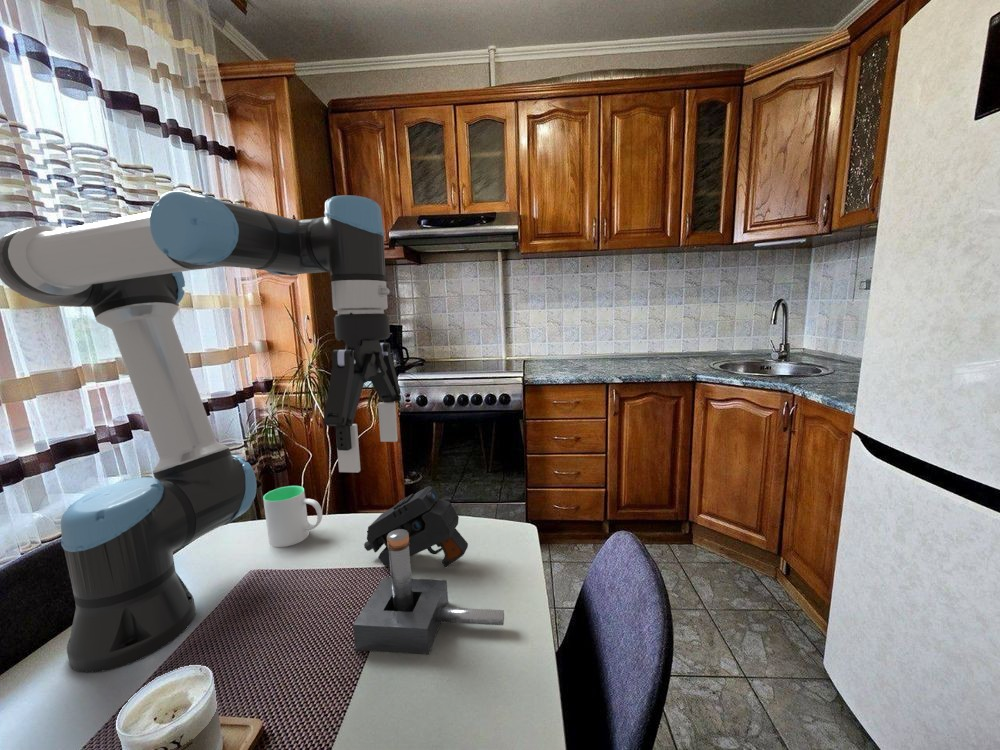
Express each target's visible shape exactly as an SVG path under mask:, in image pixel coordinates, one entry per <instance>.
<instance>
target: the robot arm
mask: <svg viewBox="0 0 1000 750" xmlns="http://www.w3.org/2000/svg"><path fill="white" fill-rule="evenodd" d="M323 214H324V216H321V217H318V218H317V217H316V218H307V219H305V218H304V219H294V218H289V217H285V216H281V215H277V214H275V213H274V214H273V213H270V212H266V211H263V210H258V209H254V208H251V207H247V206H244V205H238V204H237V203H233V202H228V201H226V200H221V199H218V198H215V197H213V196H209V195H207V194H203V193H192V192H185V191H181V190H171V191H168V192H165V193H163V194H161V195H160V197H159V200H157V201H156V202H154V203H153V205H152V207H151V210H150V211H146V212H141V213H136V214H132V215H131V214H130V215H125V216H122V217H117V218H112V219H111V218H110V219H106V220H102V221H98V222H97V221H96V222H93V223H92V222H91V223H87V224H82V225H76V226H71V227H68V228H59V227H56V226H48V225H36V226H35V225H34V226H30V227H25V228H20V229H17V230H13V231H11V232H9V233H6V234H5V235H4V236H2V237H1V238H0V281H2V282H3V284H5V286H6V287H8V288H9V289H11V290H12V291H14V292H16V293H17V294H19V295H21V296H23V297H25V298H27V299H28V300H29V299H30V300H32V301H34V302H37V303H42V304H46V305H50V306H60V307H74V308H77V307H84V308H91V310H92V312H93V315H94V318H95V320H96V322H97V323H98V324H100V325H102V326H104V327H107V328H109V329H110V330H112V334H113V336H114V339H115V341H116V344H117V347H118V350H119V352H120V355H121V358H122V360H123V363H124V366H125V369H126V371H127V374H128V377H129V380H130V382H131V385H132V387H133V390H134V393H135V395H136V399H137V402H138V403H139V406H140V409H141V411H142V414H143V417H144V420H145V423H146V426H147V428H148V430H149V433H150V437H151V438H152V441H153V442H152V443H153V444H154V447H155V450H156V453H157V455H158V457H159V459H158V462H157V464H156V465H155V467H154V468H153V470H152V474H153V476H154V477H153V476H152V477H150V476H149V477H148V476H143V477H135V478H130V479H127V480H125V481H122V482H119V481H118V482H115V483H113V484H108V485H107V486H103V487H101V488H99V489H96V490H94V491H92V492H90V493H88V494H86V495H83V496H82V497H80V498H79V499H77V500H75V501H74V502H73V503H72V504H70V505H69V506H68V507H67V509H66V510H65V511H64V512H63V514H62V515H61V519H60V529H61V530H60V533H61V540H60V545H61V547H62V548H63V551H64V555H65V560H66V565H67V570H68V574H69V578H70V584H71V588H72V593H73V597H74V602H75V611H74V616H73V621H72V625H71V631H70V637H69V639H68V642H67V645H66V653H67V660H68V664H69V666H70V668H71V669H72V670H74V671H76V672H79V673H86V674H89V673H101V672H106V671H111V670H115V669H118V668H122V667H123V666H124V667H125V666H127V665H130V664H133V663H134V662H137V661H140V660H142V659H144V658H146V657H148V656H149V655H152V654H154V653H156V652H157V651H159V650H161V649H162V648H164V647H166V646H167V645H169V644H170V643H172V642H173V641H174V640H175V639H177V638H178V637H179V636H180V635H182V634H183V633H184V632H185V631H186V630H187V629H188V628H189V626H190V625H191V624H192V623H193V621H194V619H195V616H196V614H197V611H196V603H195V598H194V595H192V593H191V592H190V591H189V588H188V587H187V585H186V583H185V582H184V581H183V580H182V578H181V577H180V576H179V574H178V573H177V571H176V566H175V560H174V551H176V550H178V549H179V548H181V547H182V548H183V546H186V545H188V544H189V543H191V542H193V541H195V540H197V539H199V538H201V537H203V536H204V535H206V534H208V533H210V532H212V531H214V530H215V529H218V528H220V527H223V526H226V525H228V524H230V523H231V522H233V521H234V520H236V519H237V518H238V517H240V516H242V515H243V514H244V513H246V512H247V511H248V510H249V509H250V508H251V506H252V505H253V502H254V500H255V498H256V494H257V487H258V486H257V478H256V474H255V470H254V469H253V466H252V465H251V464H250V463H249V462H248V461H246V458H244V457H243V456H239V455H238V454H237V455H235V454H232V452H231V450H230V447H229V445H225V444H223V443H221V442H218V441H217V439H216V437H215V434H214V431H213V428H212V426H211V423H210V421H209V418H208V415H207V411H206V409H205V407H204V404H203V401H202V398H201V395H200V393H199V390H198V388H197V384H196V382H195V379H194V376H193V374H192V370H191V367H190V365H189V363H188V359H187V356H186V354H185V352H184V349H183V345H182V343H181V340H180V337H179V335H178V332H177V329H176V326H175V323H174V321H173V319H174V317H175V316H176V315H177V313H178V312H179V310H180V309H179V306H178V304H179V303H180V302H181V301H182V300H183V298H184V296H185V292H186V291H185V290H184V289H183V288H185V287H186V284H185V283H186V282H185V278H184V277H185V276H184V273H183V272H189V271H197V270H206V269H214V268H224V267H225V268H226V267H228V268H229V267H230V268H242V269H251V270H259V271H265V272H267V273H268V274H271V275H279V276H290V277H293V276H298V275H304V274H315V273H316V274H317V273H318V274H319V273H329V275H330V282H331V283H330V284H331V298H332V299H331V301H332V309H333V310H334V311H337V314H335V316H334V317H333V323H334V335H335V339H336V340H337V341H339V342H344V343H345V346H344V347H345V349H333V351H332V353H331V360H332V361H331V362H332V364H331V365H332V366H331V373H330V380H329V384H328V391H327V397H326V403H325V409H324V414H323V424H324V425H326V426H327V427H334V429H335V437H336V438H335V439H336V451H337V462H338V472H339V473H360V472H361V461H360V460H361V458H360V447H359V445H360V444H359V443H360V442H359V434H358V433H359V432H358V423H354V421H355V417H356V414H357V410H358V406H359V403H360V399H361V396H362V391H363V388H364V384H365V383H367V382H368V381H370V382H371V385H372V386H373V388H374V391H375V392H376V393H377V396H378V398H379V400H380V401H381V402H378V403H377V408H378V409H377V412H378V422H379V423H378V425H379V438H380V442H386V443H387V442H389V443H397V442H398V439H399V438H398V437H399V436H398V424H397V422H398V421H397V407H396V406H397V405H396V402H401V401H402V395H401V388H400V384H399V383H400V382H399V380H398V377H397V372H396V368H395V365H394V361H393V358H392V351H391V343H390V342H381V341H382V340H383V341H384V340H388V339H389V338H390V336H391V332H390V331H391V330H390V316H389V315H388V314H387V313H385V311H384V310H387V309H388V307H389V306H388V295H390V293H391V291H390V289H389V288H388V287H387V275H386V261H385V259H386V257H385V231H384V225H383V217H382V209H381V207H380V204H378V202H377V201H375V200H374V199H370V198H368V197H365V196H360V195H350V194H349V195H347V194H346V195H345V194H344V195H341V194H340V195H335V196H332V197H329V198H327V200H325V202H324V211H323Z"/></svg>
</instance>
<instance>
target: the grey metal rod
mask: <svg viewBox="0 0 1000 750" xmlns="http://www.w3.org/2000/svg"><path fill="white" fill-rule="evenodd" d="M387 545H388V549H389V560H390V567H389V568H390V569H389V571H390V578H391V582H392V594H393V605H394V611H403V612H413V610H414V603H413V590H412V579H413V577H412V567H411V566H412V565H411V557H410V553H409V533H408V532H407V531H406V530H404V529H397V530H394V531H391V532H390V533H389V534H388V535H387Z"/></svg>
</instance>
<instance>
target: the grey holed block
mask: <svg viewBox="0 0 1000 750" xmlns="http://www.w3.org/2000/svg"><path fill="white" fill-rule="evenodd" d="M412 590H413V603H414V610H413V612H403V611H394V605H393V594H392V582H391V577H383V578H382V579H381V580H380V582H379V584H378V585H377V587H376V588H375V589H374V591H373V592H372V595H371V596H370V597H369V599H368V601H367V602H366V604H365V605H364V606H363V608H362V610H361V612H360V613H359V615H358V616H357V618H356V619H355V621H354V623H352V630H353V631H352V632H353V639H354V640H353V641H354V649H355V651H368V652H382V653H395V654H396V653H398V654H411V655H426V656H427V655H429V656H430V653H431V651H432V647H433V645H434V642H435V640H436V637H437V634H438V631H439V629H440V626H441V624H442V623H446V624H447V623H451V624H469V625H470V624H471V625H485V626H486V625H490V626H504V623H505V610H504V609H490V608H489V609H486V608H485V609H484V608H467V607H466V608H465V607H448V605H449V594H448V593H449V592H448V580H447V579H424V578H423V579H422V578H412Z"/></svg>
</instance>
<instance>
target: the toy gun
mask: <svg viewBox="0 0 1000 750" xmlns="http://www.w3.org/2000/svg"><path fill="white" fill-rule="evenodd" d="M459 519H460V516H459V514H458V513H457V512H456V509H455V508H454V506H453V504H452V503H451V501H447V500H444V499H443V498H442V499H441V498H439V495H438V494H437V493H436V490H435V489H434V487H432V486H428V485H427V486H425V488H423V489H421V490H419V491H417V492H416V493H415V494H414V493H411V494H410V495H408V496H406V497H404V498H403V499H401V500H399V502H397V503H396V504H395V505H394V506H392V507H391V508H389V509H388V510H386V511H384V512H382V513H381V514H380V515H379V516H378V517H377V518H376V519H375V520H374V521H373V522H372V523H371V524H370V525H368V527H367V530H366V532H367V534H366V541H365V542H364V544H363V547H364V549H365V550H366V551H367V552H368V551H371V550H373V551H374V553H377V552H378V551H379V550H380V549H381V548H382V546H383V545H384V546H385V547H384V549H383V550H382V551H381V552H380V553H379V554H378V560H379V561H380V562H381V563H382V565H383V566H385V567H388V568H390V560H389V549H388V545H387V535H388V534H389V533H390V532H391V531H394V530H397V529H404V530H406V531H407V532H408V533H409V553H410V558H411V557H412V556H414V555H418V554H419V553H421V552H423V551H426V550H427V551H428V553H430V554H431V555H438V554H439V553H440V552H443V554H444V557H443V559H442V560H441V565H442V566H443V568H445V569H447V568H448V567H449V566H450V565H451V566H452V564H453V563H455V562H456V561H458V560H459V559H460V558H461V557H463V556H464V555H465V553H466V551H467V549H468V546H469V543H468V541H466V540H465V538H464V536H462V534H461V533H460V532H459V531H458V529H457V526H458V525H459ZM435 545H436V546H437V548H438V549H436V550H435V549H433V548H432V547H434V546H435Z"/></svg>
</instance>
